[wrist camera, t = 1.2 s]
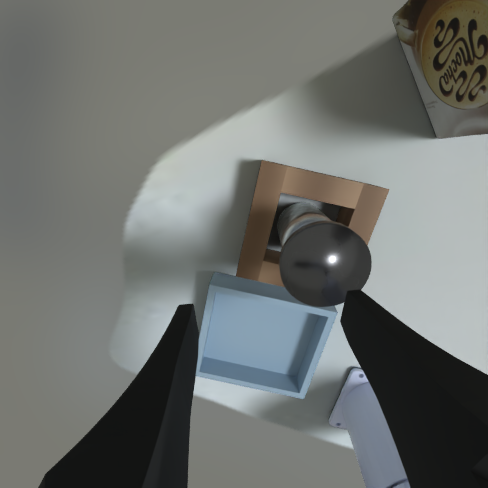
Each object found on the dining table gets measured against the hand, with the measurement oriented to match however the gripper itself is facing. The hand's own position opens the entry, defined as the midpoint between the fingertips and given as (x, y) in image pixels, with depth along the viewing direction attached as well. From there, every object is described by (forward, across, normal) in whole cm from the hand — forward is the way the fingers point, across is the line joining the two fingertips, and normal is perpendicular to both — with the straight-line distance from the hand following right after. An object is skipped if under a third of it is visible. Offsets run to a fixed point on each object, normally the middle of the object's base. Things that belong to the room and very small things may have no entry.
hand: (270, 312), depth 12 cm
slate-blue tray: (+9, -1, +12) cm, 15 cm away
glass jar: (+11, -4, +1) cm, 12 cm away
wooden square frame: (+11, -4, +1) cm, 12 cm away
